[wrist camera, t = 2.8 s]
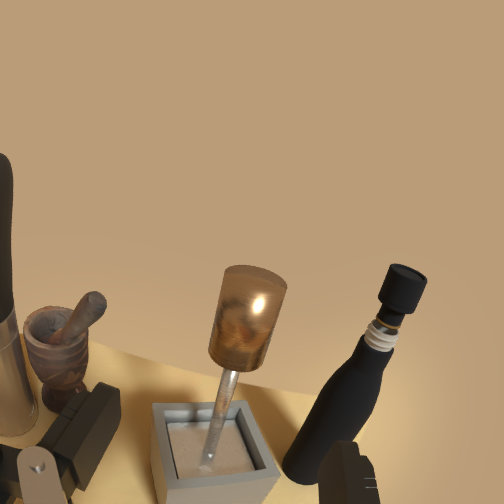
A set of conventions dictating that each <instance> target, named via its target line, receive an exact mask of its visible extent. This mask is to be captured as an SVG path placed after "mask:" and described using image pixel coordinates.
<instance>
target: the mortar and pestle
mask: <svg viewBox="0 0 504 504" xmlns="http://www.w3.org/2000/svg"><path fill="white" fill-rule="evenodd" d="M106 308H107V303H106V299H105V297H104V296H103V295H102V294H101V293H99V292H97V291H93V292H89V293H87V294H86V295H84V296H83V298H82V299H81V300H80V302H79V303H78V305H77V306H76V308H75V310H71V309H68V308H64V307H57V306H46V307H44V308H41V309H38V310H36V311H34V312H33V313H31V314H30V315H29V316H28V317H27V320H26V321H25V322H24V327H23V334H24V339H25V343H26V347H27V352H28V357H29V360H30V363H31V366H32V368H33V370H34V371H35V373H36V375H37V376H38V378H39V380H40V381H41V382H42V383H44V384H43V387H42V400H43V402H44V404H45V406H46V407H47V408H48V409H50V410H51V411H53V412H55V413H58V414H60V413H61V411H62V410H63V409H64V407H66V405H67V403H68V402H69V401H70V399H71V398H72V397H73V396H74V395H75V394H77V393H79V392H81V391H82V390H86V391H87V388H86V386H85V384H84V383H83V382H82V379H83V378H84V375H85V372H86V368H87V364H88V327H90V326H91V325H92V324H93V323H94V322H96V321H97V320H98V319H99V318H100V317H101V316H102V315H103V314H104V312H105V310H106Z"/></svg>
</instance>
